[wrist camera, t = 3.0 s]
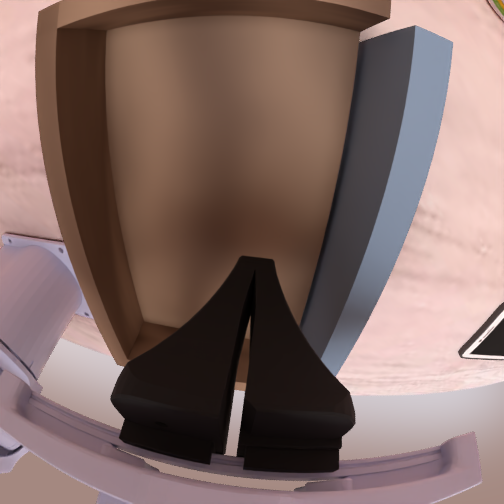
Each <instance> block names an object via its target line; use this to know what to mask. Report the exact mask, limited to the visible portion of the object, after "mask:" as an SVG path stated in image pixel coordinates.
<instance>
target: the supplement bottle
mask: <svg viewBox="0 0 504 504" xmlns="http://www.w3.org/2000/svg"><path fill="white" fill-rule="evenodd" d="M488 1H489V3H490V4H491V6H492V7H493V9H494V10H495V11H496V13H497V14H498V15H499V16H500V17H501V19H502V20H503V21H504V0H488Z"/></svg>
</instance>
